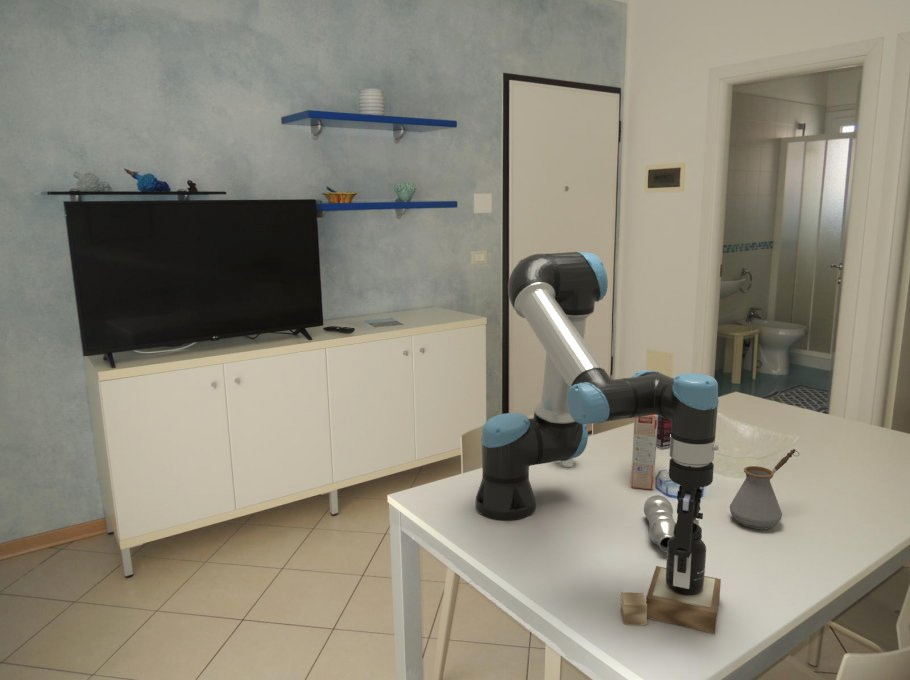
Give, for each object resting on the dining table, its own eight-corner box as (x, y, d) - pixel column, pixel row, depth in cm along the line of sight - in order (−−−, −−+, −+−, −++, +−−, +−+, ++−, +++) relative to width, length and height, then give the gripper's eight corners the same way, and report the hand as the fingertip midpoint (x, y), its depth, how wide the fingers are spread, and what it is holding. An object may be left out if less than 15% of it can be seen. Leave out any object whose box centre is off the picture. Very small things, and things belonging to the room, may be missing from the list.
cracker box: (653, 491, 177) (657, 415, 173) (630, 488, 179) (633, 413, 174) (656, 471, 190) (659, 400, 186) (634, 469, 192) (636, 399, 187)
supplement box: (671, 440, 214) (674, 393, 211) (682, 445, 209) (685, 397, 206) (650, 445, 210) (652, 396, 207) (660, 449, 206) (663, 400, 203)
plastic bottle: (673, 515, 162) (686, 556, 142) (644, 518, 163) (654, 560, 144) (669, 490, 161) (682, 528, 141) (640, 494, 162) (649, 532, 143)
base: (645, 617, 123) (646, 596, 122) (655, 584, 133) (656, 564, 133) (714, 633, 118) (716, 611, 117) (719, 597, 128) (720, 577, 128)
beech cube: (623, 624, 121) (624, 604, 120) (620, 611, 125) (621, 592, 124) (646, 625, 121) (647, 605, 120) (642, 612, 124) (643, 592, 124)
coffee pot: (763, 538, 151) (768, 476, 148) (718, 519, 160) (722, 460, 157) (813, 513, 162) (819, 455, 160) (769, 497, 172) (774, 442, 169)
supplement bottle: (706, 598, 121) (710, 537, 119) (667, 594, 122) (670, 534, 120) (700, 577, 128) (704, 519, 125) (663, 574, 129) (666, 517, 127)
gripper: (707, 489, 107) (700, 608, 111) (718, 440, 129) (712, 541, 133) (659, 482, 110) (654, 598, 114) (678, 435, 132) (673, 533, 137)
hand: (685, 567), depth 124 cm, fingers open, 13 cm apart
